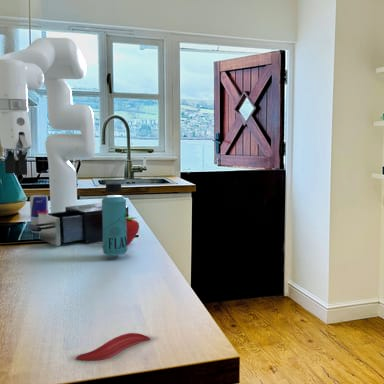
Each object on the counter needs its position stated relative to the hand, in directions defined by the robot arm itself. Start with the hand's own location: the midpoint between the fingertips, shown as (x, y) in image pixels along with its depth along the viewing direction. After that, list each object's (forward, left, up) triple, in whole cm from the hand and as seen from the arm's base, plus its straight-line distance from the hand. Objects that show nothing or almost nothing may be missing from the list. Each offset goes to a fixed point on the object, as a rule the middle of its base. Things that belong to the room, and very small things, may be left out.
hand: (16, 173), depth 131 cm
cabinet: (0, +24, -22) cm, 32 cm away
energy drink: (-19, +14, -22) cm, 32 cm away
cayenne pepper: (+72, -13, -22) cm, 76 cm away
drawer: (0, +13, -21) cm, 24 cm away
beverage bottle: (+25, +15, -22) cm, 36 cm away
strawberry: (+15, +25, -22) cm, 36 cm away
